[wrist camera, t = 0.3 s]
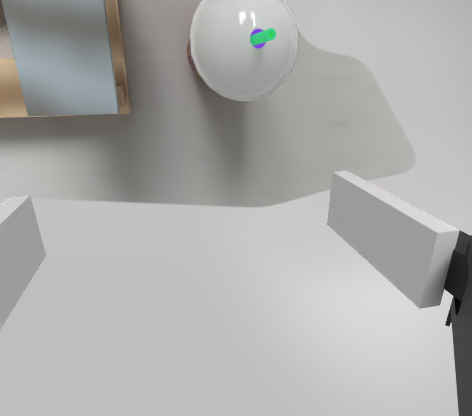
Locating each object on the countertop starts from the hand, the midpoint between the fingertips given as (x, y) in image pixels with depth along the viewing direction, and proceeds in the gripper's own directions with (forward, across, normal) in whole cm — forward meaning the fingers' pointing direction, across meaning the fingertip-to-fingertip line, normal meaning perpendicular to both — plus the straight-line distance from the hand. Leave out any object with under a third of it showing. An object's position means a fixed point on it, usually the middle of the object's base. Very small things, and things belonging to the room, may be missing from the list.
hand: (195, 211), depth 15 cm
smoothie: (+27, +6, +8) cm, 29 cm away
